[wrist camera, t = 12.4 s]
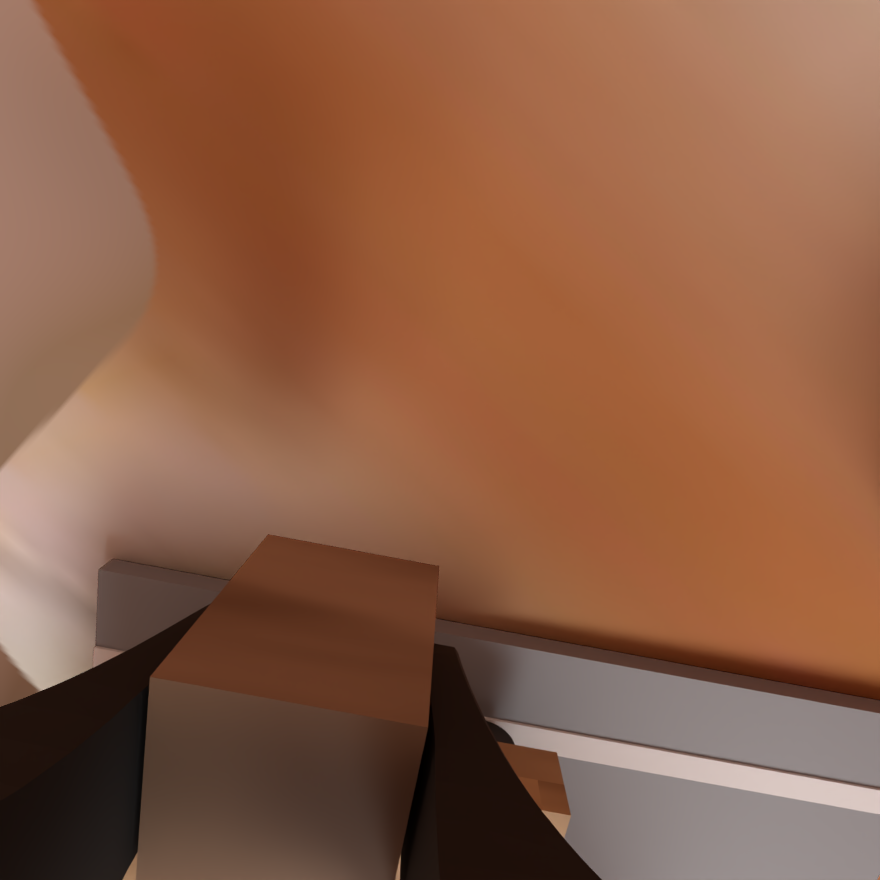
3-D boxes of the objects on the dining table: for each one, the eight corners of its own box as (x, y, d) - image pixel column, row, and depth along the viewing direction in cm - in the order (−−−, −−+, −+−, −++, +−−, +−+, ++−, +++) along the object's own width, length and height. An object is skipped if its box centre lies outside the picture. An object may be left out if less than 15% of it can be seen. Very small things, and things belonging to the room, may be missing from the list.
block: (409, 711, 14) (383, 935, 9) (250, 682, 14) (134, 891, 9) (439, 566, 13) (428, 728, 8) (268, 534, 13) (149, 677, 8)
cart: (477, 956, 22) (482, 1104, 18) (132, 896, 22) (57, 1032, 18) (546, 707, 19) (571, 815, 15) (150, 634, 19) (65, 724, 15)
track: (785, 1019, 24) (798, 1047, 23) (96, 899, 23) (82, 922, 22) (933, 710, 20) (955, 728, 19) (113, 559, 19) (96, 570, 19)
